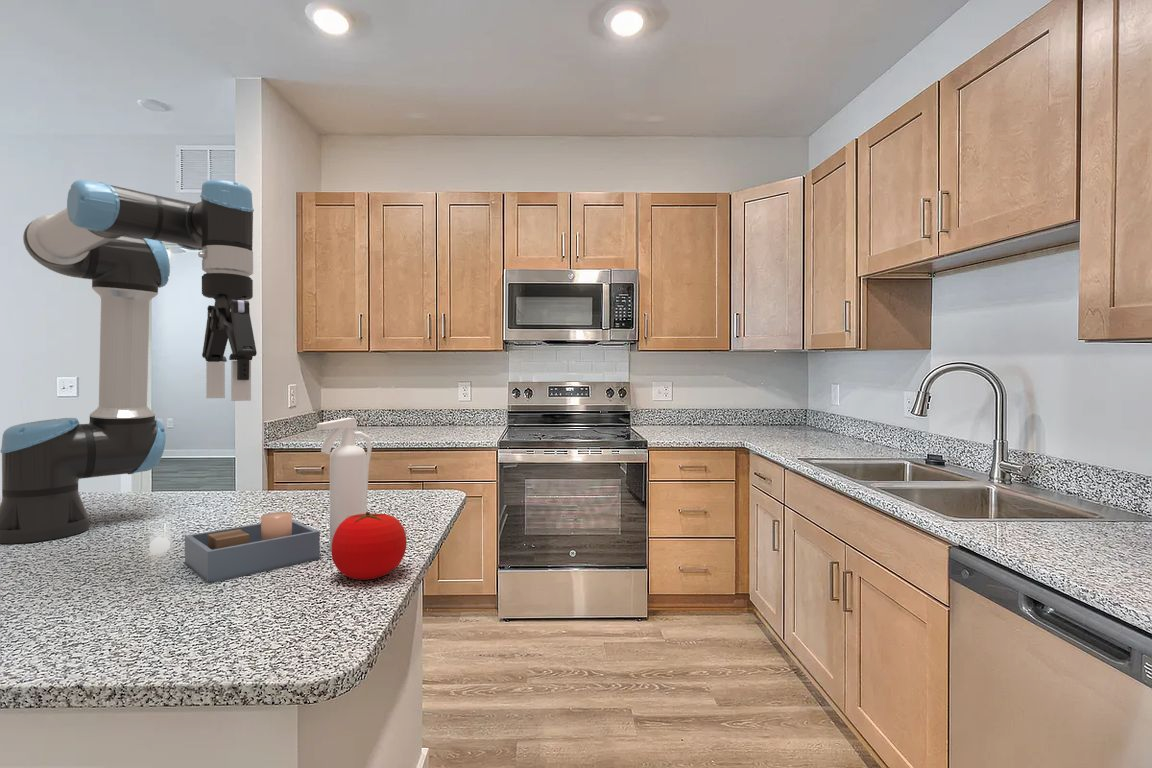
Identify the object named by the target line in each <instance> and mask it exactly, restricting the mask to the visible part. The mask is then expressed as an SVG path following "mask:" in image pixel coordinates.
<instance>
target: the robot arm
mask: <svg viewBox="0 0 1152 768" xmlns="http://www.w3.org/2000/svg"><path fill="white" fill-rule="evenodd" d="M199 197H200V198H201V201H198V202H197V203H195V202H190V201H185V200H182V199H181V200H180V199H176V198H171V197H167V196H162V195H157V194H153V193H149V192H148V193H147V192H142V191H139V190H134V189H129V188H127V187H126V188H125V187H120V186H118V185H117V186H116V185H112V184H109V183H106V182H103V181H92V180H85V179H77V180H75V181H73V182H72V184H71V185H70V189H68V193H67V197H66V199H67V200H66V208H64V209H62V210H61V211H59V212H58V213H56V214H45V215H41V216H39V217H36V218H35V219H34V220H32V221H31V222H30V223H28V224H27V225H26V227H25V229H24V232H23V245H24V246H25V247H24V248H25V250H26V251H27V253H28V254H29V255H30V257H31V258H33V260H35V261H36V262H37V263H38V264H39V265H41V266H43V267H45V268H46V269H48V270H49V271H52V272H55V273H56V274H60V275H62V276H66V277H71V278H79V279H85V280H91V289H92V290H93V291H94V292H95V293H96V294H98V296H100V324H99V325H100V328H99V329H100V330H99V332H100V333H99V376H98V407H97V408H96V409H95V410H93V411H92V412H91V413H90V414H89V422H88V423H80V421H79V420H78V419H77V417H64V418H54V419H52V418H51V419H44V420H37V421H31V422H24V423H19V424H14V425H11V426H9V427H8V428H6V429H5V430H4V431H3V433H2V439H1V449H0V453H1V503H0V544H23V543H35V542H43V541H44V542H45V541H50V540H56V539H62V538H66V537H69V536H75V535H77V534H80V533H83V532H86V531H88V530H89V529H90V517H89V515H88V512H87V510H86V508H85V505H84V503H83V500H82V498H81V496H80V493H79V481H80V480H81V479H90V478H99V477H107V476H115V475H133V474H135V473H142V472H148V471H151V470H153V469H154V468H156V467H157V465H158V464H159V463H160V461H161V459H162V457H163V454H164V451H165V447H166V433H165V430H166V429H165V425H164V424H163V422H161V420H158V419H156V413H155V412H154V411H153V410H151V409H150V408H149V407H148V381H149V380H148V378H149V377H148V376H149V375H148V374H149V369H148V368H149V342H150V341H149V340H150V339H149V338H150V337H149V336H150V333H149V332H150V302H151V300H152V299H154V298H155V297H156V296H157V295H159V288H163V287H165V286H166V285H167V284H168V282H169V277H170V273H171V264H170V258H169V253H168V251H167V248H166V246H165V245H164V243H165V242H166V243H171V244H177V245H178V246H179V247H181V248H183V249H186V250H189V251H199V252H198V253H197V254H198V257H199V258H201V259H202V260H201V266H202V267H201V269H202V271H203V272H204V273H203V275H202V276H201V295H202V296H203V297H205V298H209V299H213V300H214V305H208V306H207V320H206V326H205V335H204V340H203V347H202V353H201V356H202V358H203V359H205V361H206V368H205V369H206V370H205V371H206V374H205V375H206V377H205V378H206V383H205V384H206V385H205V386H206V387H205V388H206V389H205V390H206V391H205V393H206V395H205V396H206V397H205V398H206V399H225V398H226V395H225V394H226V393H225V392H226V384H225V383H226V382H225V381H226V379H225V378H226V377H225V376H226V371H225V370H226V364H225V363H226V362H228V360H229V361H230V377H231V378H230V393H231V394H230V396H231V397H230V399H231V400H230V401H231V402H238V401H239V402H241V401H243V402H244V401H248V402H249V401H250V402H251V401H252V360H253V357H256V356H257V353H258V351H257V347H256V342H255V337H254V335H255V334H254V332H253V331H254V330H253V326H252V325H253V324H252V319H251V315H250V313H251V312H250V309H251V308H250V302H249V301H250V300H252V299H253V297H254V295H253V294H254V289H253V288H254V287H253V286H254V285H253V284H254V283H253V282H254V280H253V279H252V277H250V276H252V275H253V274H254V251H253V239H254V238H253V237H254V235H253V232H254V231H253V230H254V213H255V212H254V208H253V193H252V191H251V189H250V188H249V187H247V185H244V184H242V183H238V182H236V181H232V180H227V179H209V180H208V179H207V180H206V181H204V182H202V185H201V193H200V196H199ZM163 242H164V243H163ZM228 342H229V346H230V349H231V353H230V354H229V358H228V360H227V357H226V356H225V352H226V348H227V344H228Z"/></svg>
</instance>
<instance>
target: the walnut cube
mask: <svg viewBox="0 0 1152 768" xmlns="http://www.w3.org/2000/svg"><path fill="white" fill-rule="evenodd" d="M247 543H250V535H249V534H248V533H246V532H244V531H242V530H240V529H238V530H232V531H226V532H220V533H214V534H208V547H209V548H210V549H212V550H214V549H220V548H225V547H230V546H236V545H241V544H247Z"/></svg>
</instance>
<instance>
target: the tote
mask: <svg viewBox="0 0 1152 768" xmlns="http://www.w3.org/2000/svg"><path fill="white" fill-rule="evenodd" d="M238 529H240V530H242V531H244V532H246V533H248V534H249V535H250V543H247V544H241V545H236V546H230V547H225V548H220V549H214V550H212V549H210V548H209V547H208V534H214V533H220V532H226V531H232V530H238ZM320 536H321V532H320V531H319V530H318V529H315V528H313V527H311V526H308V525H306V524H304V523H301V522H299V521H297V520H294V519H292V535H291V536H285V537H280V538H274V539H269V540H263V541H261V522H259V523H253V524H248V525H242V526H237V527H230V528H223V529H218V530H211V531H205V532H200V533H198V532H197V533H193V534H186V535H184V565H185V566H186V567H187V568H189V569H190V570H191V571H192V572H194V573H195V574H196V575H197V576H198V577H200V578H201V580H203V581H204V582H206V584H211V583H212V584H213V583H217V582H220V581H226V580H230V579H234V578H240V577H244V576H249V575H253V574H254V575H255V574H257V573H261V572H262V573H263V572H267V571H273V570H276V569H280V568H281V569H282V568H285V567H290V566H294V565H295V566H296V565H298V564H304V563H308V562H309V563H310V562H312V561H317V560H320V559H321V557H320V555H321V553H320V552H321V551H320V550H321V549H320V548H321V545H320V544H321V541H320V540H321V539H320Z"/></svg>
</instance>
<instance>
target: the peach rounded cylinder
mask: <svg viewBox="0 0 1152 768" xmlns="http://www.w3.org/2000/svg"><path fill="white" fill-rule="evenodd" d="M292 520H293V513H292V512H289V511H274V512H269V513H264V514H262V515H261V517H260V523H261V541H263V540H269V539H274V538H280V537H285V536H291V535H292Z"/></svg>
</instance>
